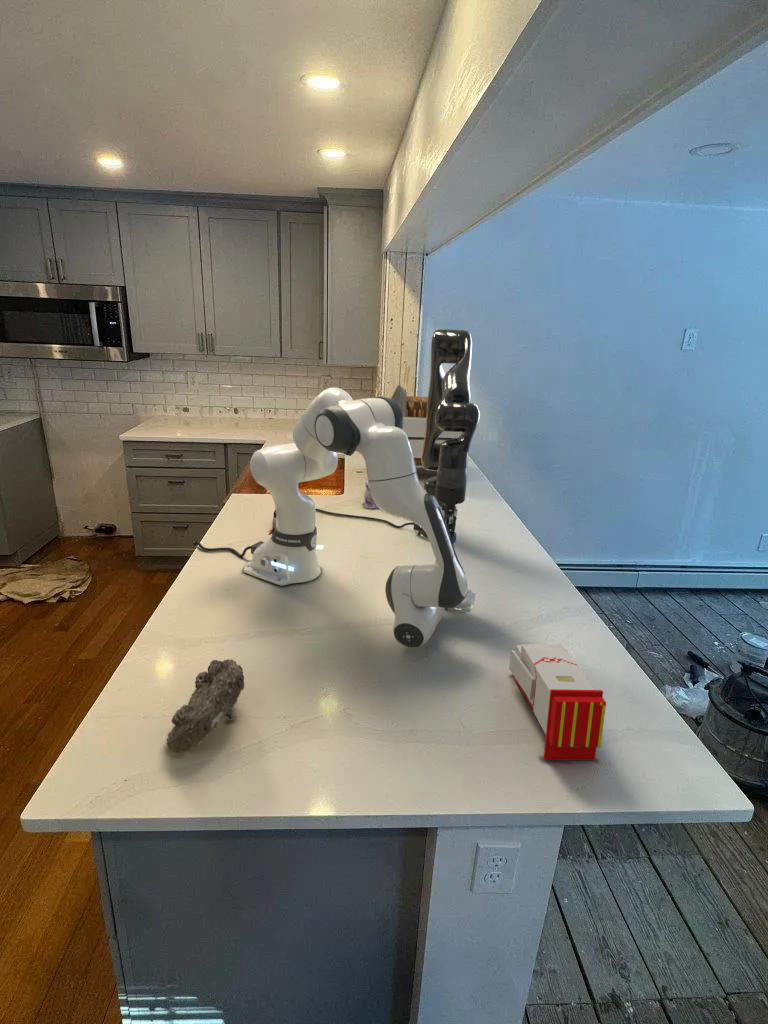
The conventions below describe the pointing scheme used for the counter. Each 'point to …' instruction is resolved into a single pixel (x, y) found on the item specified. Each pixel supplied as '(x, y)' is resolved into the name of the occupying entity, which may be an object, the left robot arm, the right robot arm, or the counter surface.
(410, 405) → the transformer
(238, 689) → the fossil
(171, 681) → the counter surface
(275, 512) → the figurine character
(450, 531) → the lid
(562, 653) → the toy
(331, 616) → the counter surface
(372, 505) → the figurine
